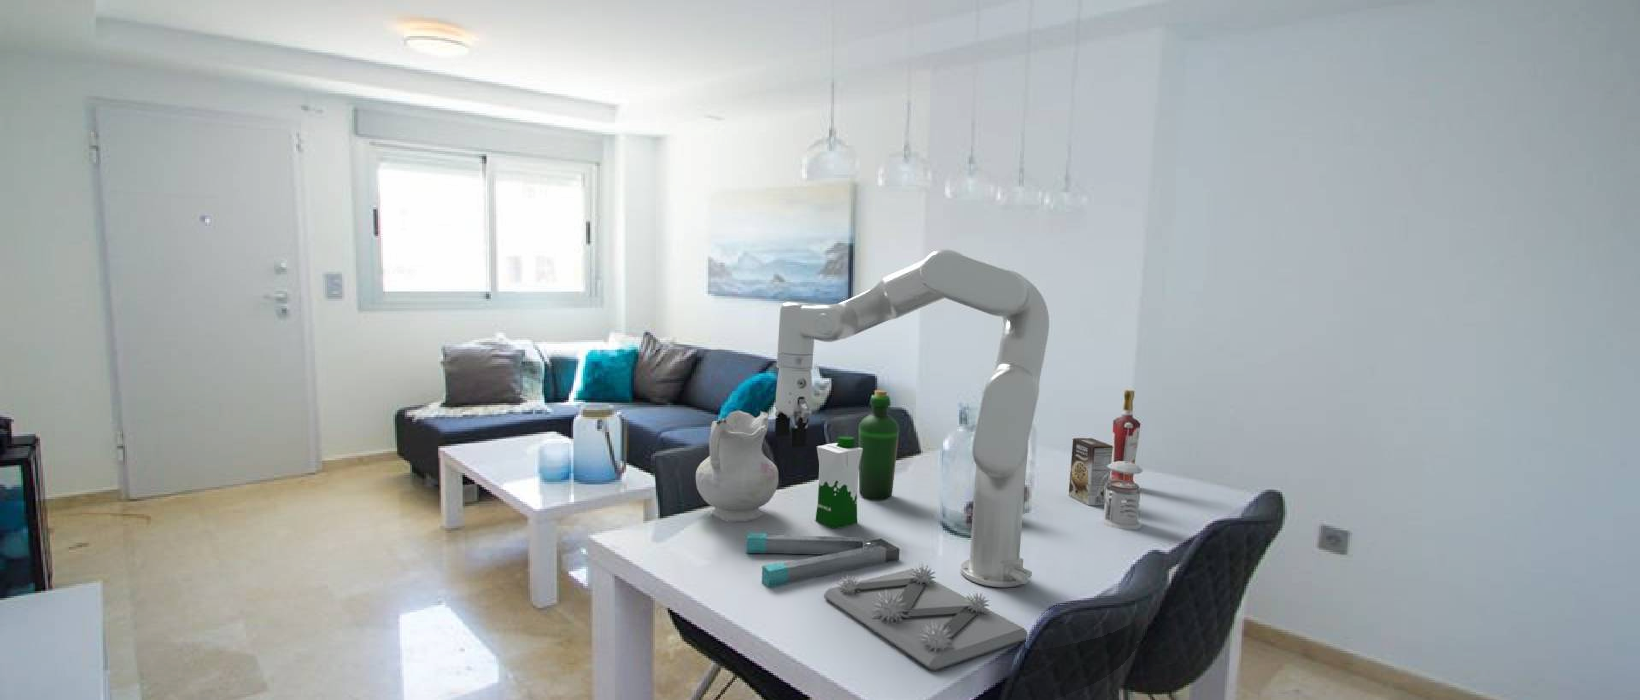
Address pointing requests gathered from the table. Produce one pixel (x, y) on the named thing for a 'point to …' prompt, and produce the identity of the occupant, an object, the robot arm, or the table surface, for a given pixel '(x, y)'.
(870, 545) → the tongs arm
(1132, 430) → the liquor
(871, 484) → the bottle
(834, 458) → the milk carton
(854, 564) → the base
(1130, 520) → the french press
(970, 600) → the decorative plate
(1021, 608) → the table surface
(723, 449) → the ceramic pitcher
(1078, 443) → the cookie box
